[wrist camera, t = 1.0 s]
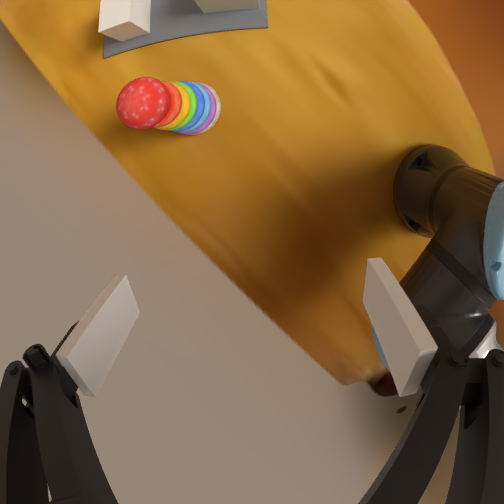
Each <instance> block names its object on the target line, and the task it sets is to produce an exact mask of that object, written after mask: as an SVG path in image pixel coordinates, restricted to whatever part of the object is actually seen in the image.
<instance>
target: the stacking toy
mask: <svg viewBox="0 0 504 504" xmlns="http://www.w3.org/2000/svg"><path fill="white" fill-rule="evenodd" d="M116 108H117V113H118V116H119V118H120V119H121V121H122V122H123V123H124V124H125V125H127V126H129V127H131V128H134V129H147V128H151V127H154V128H156V129H160V130H168V131H174V132H177V133H180V134H184V135H197V134H201V133H204V132H206V131H208V130H209V129H210V128H212V127H213V126H214V124H215V123H216V122H217V120H218V118H219V115H220V111H221V102H220V99H219V96H218V94H217V93H216V92H215V90H214V89H213V88H212V87H210V86H209V85H207V84H204V83H201V82H190V81H172V82H165V81H159V80H157V79H155V78H151V77H141V78H137V79H135V80H132V81H130V82H129V83H128V84H127V85H125V86H124V88H123V89H122V90H121V92H120V93H119V95H118V98H117V104H116Z"/></svg>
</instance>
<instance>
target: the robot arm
mask: <svg viewBox="0 0 504 504" xmlns="http://www.w3.org/2000/svg"><path fill="white" fill-rule="evenodd" d="M393 196H394V203H395V207H396V210H397V212H398V215H399V216H400V218H401V220H402V221H403V222H404V223H405V224H406V225H407V226H408V227H409V228H410V229H411V230H412V231H414V232H415V233H417V234H419V235H421V236H423V237H427V238H432V239H431V241H430V242H429V244H428V245H427V246H426V248H425V249H424V250H423V252H422V253H421V255H420V256H419V257H418V259H417V260H416V261H415V263H414V264H413V265H412V267H411V268H410V269H409V271H408V272H407V273H406V275H405V276H404V277H403V278H402V280H401V281H400V282H399V283H398V281H397V280H396V278H395V277H394V275H393V274H392V273H391V271H390V270H389V268H388V267H387V265H386V264H385V262H384V261H383V260H382V258H381V257H380V258H368V260H367V270H366V279H365V287H364V295H363V304H364V306H365V308H366V311H367V313H368V315H369V318H370V320H371V323H372V337H373V341H374V344H375V347H376V349H377V352H378V354H379V356H380V358H381V359H382V361H383V363H384V364H385V366H386V367H387V369H388V370H389V371H390V372H391V374H392V376H393V379H394V382H395V385H396V388H397V390H398V393H399V396H400V397H402V396H407V395H411V394H414V393H416V392H417V390H418V388H419V386H420V385H421V387H422V389H423V394H422V395H421V397H420V399H419V401H418V402H417V404H416V409H415V411H414V413H413V415H412V417H411V419H410V421H409V423H408V425H407V427H406V429H405V431H404V433H403V435H402V436H401V438H400V440H399V442H398V444H397V446H396V447H395V449H394V451H393V452H392V454H391V456H390V458H389V459H388V461H387V462H386V464H385V466H384V467H383V469H382V471H381V472H380V473H379V475H378V477H377V478H376V479H375V481H374V482H373V484H372V485H371V487H370V488H369V490H368V491H367V493H366V494H365V495H364V496H363V498H362V499H361V501H360V502H359V503H358V504H417V503H418V502H419V500H420V498H421V496H422V495H423V493H424V491H425V489H426V487H427V485H428V484H429V482H430V479H431V477H432V476H433V474H434V471H435V469H436V467H437V465H438V463H439V461H440V458H441V456H442V454H443V451H444V449H445V447H446V444H447V442H448V439H449V437H450V434H451V431H452V428H453V426H454V423H455V420H456V417H457V414H458V411H459V409H460V422H459V434H458V442H457V449H456V457H455V463H454V468H453V473H452V478H451V483H450V487H449V492H448V496H447V500H446V503H445V504H504V351H503V349H502V348H501V347H500V346H499V345H498V343H497V341H496V322H495V320H494V319H493V318H492V317H491V316H490V314H489V313H488V310H489V309H490V308H491V306H492V305H493V304H494V302H495V301H496V300H497V299H501V300H504V180H503V179H501V178H498V177H496V176H493V175H491V174H488V173H485V172H483V171H480V170H477V169H474V168H472V167H470V166H469V165H468V164H467V163H466V162H465V161H464V160H463V159H462V158H461V157H460V156H459V155H458V154H456V153H455V152H454V151H452V150H450V149H448V148H446V147H442V146H438V145H424V146H421V147H418V148H416V149H415V150H413V151H412V152H411V153H409V154H408V155H407V156H406V158H405V159H404V160H403V161H402V163H401V165H400V167H399V169H398V171H397V174H396V177H395V181H394V188H393ZM139 314H140V311H139V309H138V306H137V303H136V301H135V298H134V296H133V293H132V290H131V287H130V285H129V282H128V279H127V276H126V275H115V276H114V277H113V279H112V280H111V281H110V282H109V284H108V285H107V286H106V287H105V289H104V290H103V291H102V292H101V294H100V295H99V296H98V297H97V299H96V300H95V301H94V302H93V304H92V305H91V306H90V308H89V309H88V310H87V312H86V313H85V314H84V316H83V317H82V318H81V320H80V321H78V322H77V323H75V324H74V325H73V326H72V327H71V328H70V330H69V331H68V332H67V335H65V336H64V338H63V340H62V341H61V342H60V343H59V345H58V346H57V348H56V349H55V351H54V352H53V354H52V355H51V357H50V356H49V355H48V353H47V352H46V350H45V348H44V347H43V346H42V345H41V344H35V345H33V346H31V347H29V348H28V349H27V350H26V351H25V353H24V354H23V359H24V361H25V362H26V364H27V365H28V366H29V368H25V366H24V365H23V364H22V362H21V361H14V362H12V363H10V364H9V365H8V367H7V369H6V370H5V373H4V377H3V380H2V384H1V387H0V504H118V502H117V500H116V498H115V496H114V494H113V492H112V490H111V488H110V485H109V483H108V481H107V479H106V476H105V474H104V472H103V469H102V467H101V464H100V462H99V459H98V456H97V454H96V451H95V448H94V445H93V443H92V440H91V437H90V434H89V431H88V428H87V424H86V421H85V418H84V414H83V410H82V407H81V403H80V399H79V396H78V394H77V393H76V391H77V389H78V388H79V389H80V390H81V392H82V393H83V394H84V395H86V396H90V397H94V398H96V397H97V395H98V393H99V391H100V389H101V386H102V385H103V383H104V381H105V379H106V377H107V374H108V373H109V371H110V369H111V367H112V365H113V363H114V361H115V359H116V357H117V355H118V353H119V351H120V349H121V347H122V345H123V344H124V342H125V340H126V338H127V336H128V334H129V333H130V331H131V329H132V327H133V325H134V323H135V322H136V320H137V318H138V316H139ZM22 398H23V399H24V400H25V401H26V402H27V404H26V406H24V404H23V403H22ZM47 483H48V485H47ZM48 487H49V490H50V494H51V498H52V500H51V502H49V498H48Z"/></svg>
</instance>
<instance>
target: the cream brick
mask: <svg viewBox="0 0 504 504" xmlns="http://www.w3.org/2000/svg"><path fill="white" fill-rule="evenodd" d="M150 8H151V0H101V6H100V16H99V30H98V32H99V33H101V34H104V35H107V36H109V37H112V38H114V39H117V40H119V41H125V40H128V39H131V38H134V37H138V36H141V35H145V34H148V33H150Z"/></svg>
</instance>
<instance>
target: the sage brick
mask: <svg viewBox="0 0 504 504" xmlns="http://www.w3.org/2000/svg"><path fill="white" fill-rule="evenodd" d="M194 1H195V2H196V4H197V5H198V6H199V8H200V9H201V10H202V12H203V13H204V14H206V13H213V12H221V11H230V10H241V9H256V8H259V0H194Z"/></svg>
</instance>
